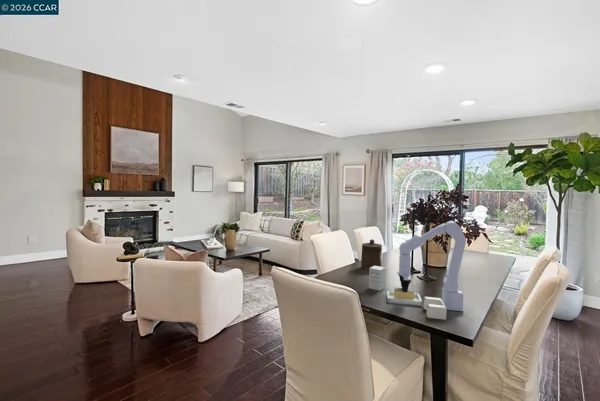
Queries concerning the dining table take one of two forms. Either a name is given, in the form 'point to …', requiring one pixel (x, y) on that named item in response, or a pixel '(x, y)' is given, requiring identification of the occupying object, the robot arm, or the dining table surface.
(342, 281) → the dining table surface
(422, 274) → the dining table surface
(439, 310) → the bay
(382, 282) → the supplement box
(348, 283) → the dining table surface
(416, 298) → the tray
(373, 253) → the wooden container
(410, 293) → the yellow rectangular block
